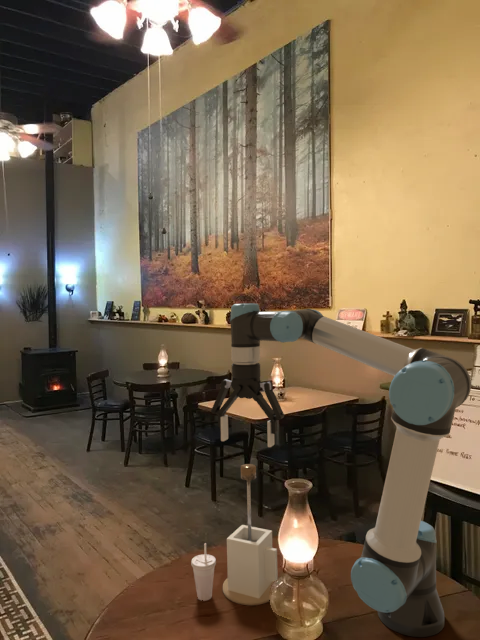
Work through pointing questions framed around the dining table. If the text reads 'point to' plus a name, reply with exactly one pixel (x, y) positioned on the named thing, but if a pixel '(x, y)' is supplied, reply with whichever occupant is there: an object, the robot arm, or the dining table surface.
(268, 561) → the press
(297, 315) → the robot arm
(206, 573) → the smoothie
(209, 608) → the dining table surface
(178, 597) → the dining table surface
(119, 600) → the dining table surface
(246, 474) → the plunger
